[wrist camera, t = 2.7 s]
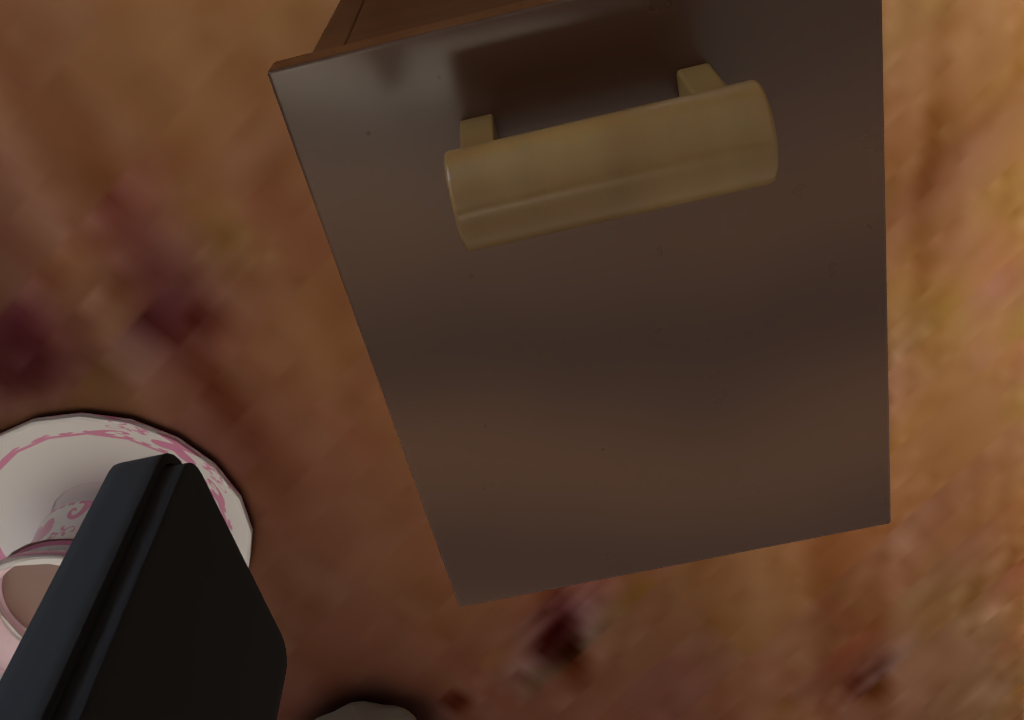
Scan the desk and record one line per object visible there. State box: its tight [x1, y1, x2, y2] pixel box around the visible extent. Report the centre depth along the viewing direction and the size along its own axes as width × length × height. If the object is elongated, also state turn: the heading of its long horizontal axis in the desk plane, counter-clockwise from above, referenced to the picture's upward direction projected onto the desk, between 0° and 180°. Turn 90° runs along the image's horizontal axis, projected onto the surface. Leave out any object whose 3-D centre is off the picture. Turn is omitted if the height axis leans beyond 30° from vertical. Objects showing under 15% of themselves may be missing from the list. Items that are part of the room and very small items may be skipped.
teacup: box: [0, 412, 253, 679], centre depth 38 cm, size 12×12×6 cm
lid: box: [268, 0, 891, 606], centre depth 21 cm, size 16×12×5 cm
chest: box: [313, 0, 524, 52], centre depth 28 cm, size 15×12×11 cm
